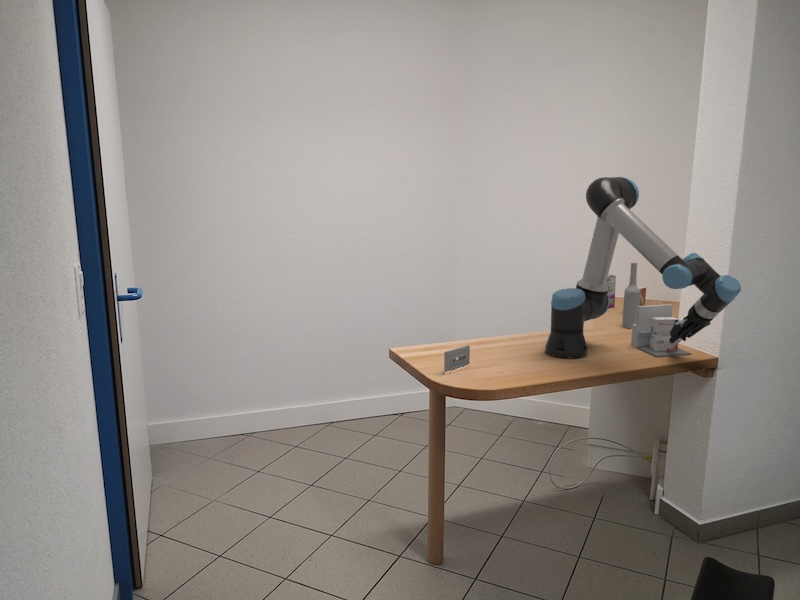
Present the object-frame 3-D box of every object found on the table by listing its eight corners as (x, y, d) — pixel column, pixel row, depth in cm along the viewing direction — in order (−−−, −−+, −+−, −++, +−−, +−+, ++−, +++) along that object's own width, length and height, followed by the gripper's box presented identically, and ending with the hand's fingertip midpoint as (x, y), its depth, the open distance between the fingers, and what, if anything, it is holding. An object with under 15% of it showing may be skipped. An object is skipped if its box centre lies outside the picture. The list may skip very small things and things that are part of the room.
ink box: (672, 347, 222) (674, 316, 220) (677, 351, 217) (680, 319, 215) (648, 347, 222) (650, 316, 220) (654, 351, 218) (656, 319, 215)
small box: (637, 316, 276) (639, 289, 273) (624, 314, 280) (625, 287, 278) (644, 313, 281) (646, 286, 279) (631, 311, 286) (633, 285, 283)
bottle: (621, 327, 255) (625, 263, 250) (622, 324, 261) (626, 261, 255) (637, 329, 252) (642, 264, 247) (638, 325, 258) (643, 262, 253)
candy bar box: (607, 305, 301) (608, 273, 297) (614, 307, 296) (616, 275, 293) (591, 308, 295) (592, 275, 292) (598, 310, 291) (600, 277, 288)
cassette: (466, 366, 206) (466, 344, 205) (470, 367, 205) (470, 345, 203) (443, 373, 198) (443, 351, 197) (447, 375, 197) (447, 352, 195)
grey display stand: (656, 357, 212) (659, 314, 209) (628, 344, 229) (631, 304, 226) (691, 354, 214) (694, 311, 211) (661, 342, 232) (664, 302, 228)
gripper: (691, 321, 193) (657, 356, 212) (726, 318, 195) (689, 353, 215) (682, 302, 197) (649, 338, 216) (716, 300, 199) (681, 335, 219)
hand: (669, 345), depth 216 cm, fingers closed
